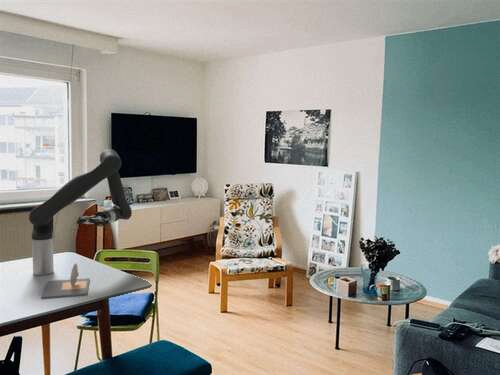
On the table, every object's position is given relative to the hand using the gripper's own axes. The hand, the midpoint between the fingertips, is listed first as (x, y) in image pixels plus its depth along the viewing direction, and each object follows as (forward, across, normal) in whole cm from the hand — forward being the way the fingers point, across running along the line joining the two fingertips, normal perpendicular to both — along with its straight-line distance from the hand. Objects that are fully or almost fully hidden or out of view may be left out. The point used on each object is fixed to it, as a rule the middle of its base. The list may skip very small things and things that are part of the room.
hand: (86, 223), depth 207 cm
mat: (+11, -2, +28) cm, 30 cm away
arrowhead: (+8, 0, +27) cm, 28 cm away
